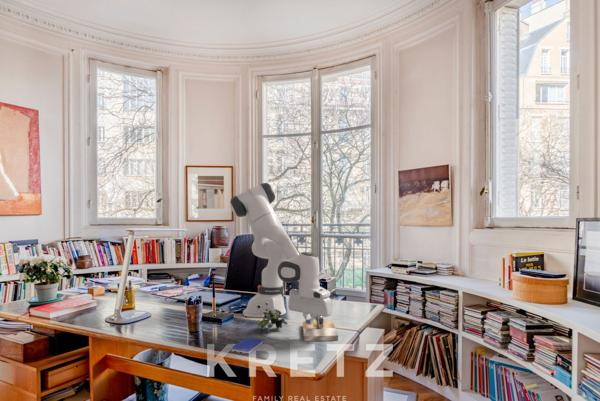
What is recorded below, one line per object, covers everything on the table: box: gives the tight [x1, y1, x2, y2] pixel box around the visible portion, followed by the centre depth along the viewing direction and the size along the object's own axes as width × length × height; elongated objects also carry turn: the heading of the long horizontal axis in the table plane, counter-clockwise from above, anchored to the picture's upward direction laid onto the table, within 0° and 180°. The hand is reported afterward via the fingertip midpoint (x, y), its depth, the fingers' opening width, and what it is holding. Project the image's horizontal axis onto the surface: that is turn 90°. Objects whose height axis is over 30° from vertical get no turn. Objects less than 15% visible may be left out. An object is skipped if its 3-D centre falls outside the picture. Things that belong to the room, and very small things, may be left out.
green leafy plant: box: [255, 309, 288, 334], centre depth 169 cm, size 11×11×12 cm
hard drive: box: [229, 337, 264, 354], centre depth 149 cm, size 2×8×12 cm
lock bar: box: [315, 315, 324, 328], centre depth 161 cm, size 13×3×3 cm, turn 2°
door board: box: [302, 319, 339, 342], centre depth 166 cm, size 14×21×6 cm, turn 2°
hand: (309, 323), depth 159 cm, fingers closed
